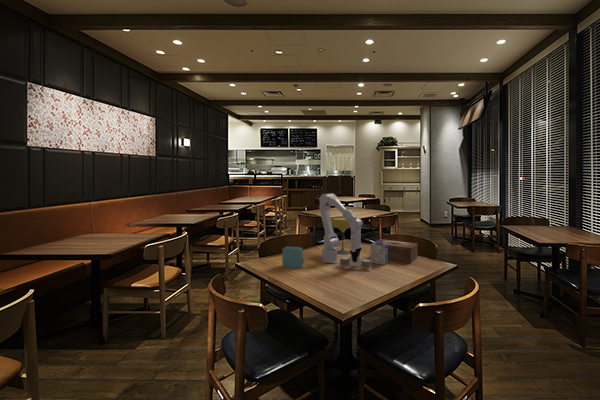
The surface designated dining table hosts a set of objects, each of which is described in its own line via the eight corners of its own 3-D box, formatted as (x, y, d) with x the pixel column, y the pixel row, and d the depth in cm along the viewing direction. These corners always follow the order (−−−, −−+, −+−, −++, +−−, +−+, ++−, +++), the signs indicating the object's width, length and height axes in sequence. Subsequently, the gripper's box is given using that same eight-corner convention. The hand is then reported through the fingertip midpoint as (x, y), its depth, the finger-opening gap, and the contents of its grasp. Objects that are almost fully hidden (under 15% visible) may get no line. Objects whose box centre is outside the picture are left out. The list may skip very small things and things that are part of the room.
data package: (303, 266, 188) (303, 247, 187) (300, 268, 184) (300, 249, 182) (285, 264, 192) (285, 246, 191) (282, 266, 188) (282, 247, 187)
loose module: (350, 264, 185) (350, 256, 185) (351, 263, 189) (351, 255, 188) (360, 266, 183) (360, 257, 183) (361, 264, 187) (361, 255, 186)
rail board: (338, 267, 186) (338, 265, 186) (342, 263, 194) (342, 261, 194) (370, 271, 178) (370, 269, 178) (372, 266, 187) (372, 265, 187)
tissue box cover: (417, 258, 206) (417, 243, 205) (411, 263, 194) (411, 247, 193) (380, 252, 220) (380, 239, 220) (372, 257, 209) (372, 242, 208)
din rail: (339, 265, 187) (339, 264, 187) (341, 262, 192) (341, 261, 192) (370, 268, 180) (370, 267, 180) (372, 266, 185) (372, 265, 185)
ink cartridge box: (388, 263, 194) (388, 240, 193) (385, 265, 189) (385, 242, 188) (373, 260, 200) (373, 238, 198) (369, 262, 195) (370, 240, 194)
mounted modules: (340, 264, 187) (340, 259, 187) (342, 261, 192) (342, 256, 191) (369, 267, 180) (369, 262, 180) (371, 264, 185) (371, 259, 185)
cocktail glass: (328, 255, 214) (328, 219, 212) (331, 248, 232) (331, 216, 229) (354, 256, 210) (355, 220, 208) (355, 250, 228) (356, 216, 225)
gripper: (360, 241, 176) (359, 264, 178) (364, 236, 190) (364, 258, 191) (348, 240, 179) (347, 263, 180) (353, 235, 192) (353, 257, 194)
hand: (355, 260), depth 186 cm, fingers open, 5 cm apart
